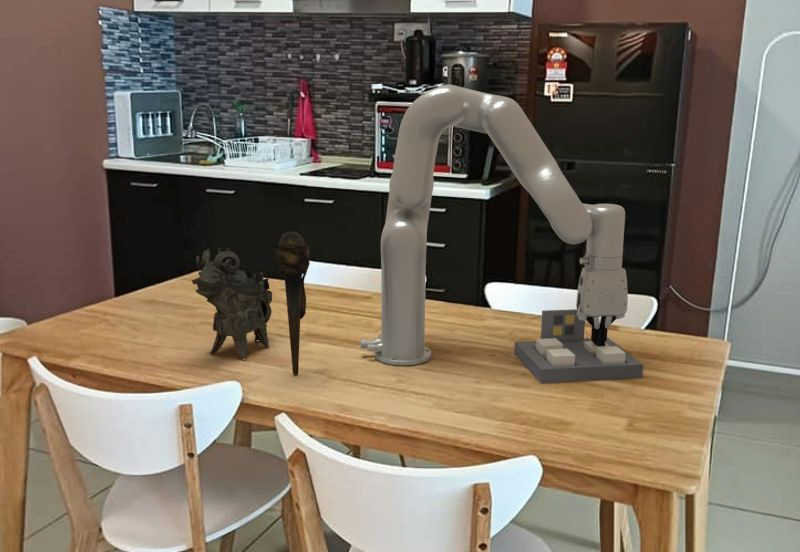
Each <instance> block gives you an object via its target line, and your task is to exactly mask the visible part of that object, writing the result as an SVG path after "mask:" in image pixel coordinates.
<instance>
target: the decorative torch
mask: <svg viewBox="0 0 800 552" xmlns="http://www.w3.org/2000/svg"><path fill="white" fill-rule="evenodd" d="M280 237H281V238H279V241H277V245H275V246H274V255H275V260H276V262H277V264H278V265H279V268H280V271H281V274H283V276H284V287H285V297H286V299H285V301H286V308H287V309H286V311H287V320H288V321H287V322H288V331H289V333H288V334H289V344H290V353H291V354H290V355H291V363H292V364H291V365H292V370H291V371H292V374H293V375H294V376H296V375H298V374H299V366H300V365H299V362H300V359H299V358H300V336H301V320H302V319H303V318H304V317H305V315H306V310H307V295H306V290H305V278H306V276H307V273H308V270H309V266H310V263H311V262H310V260H309V259H310V247H309V244H308V242H307V241H305V239H304V238H303V237H302V235H301V234H300V233H298V232H297V231H287V232H285V233H283V234H282V235H281V236H280Z"/></svg>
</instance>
